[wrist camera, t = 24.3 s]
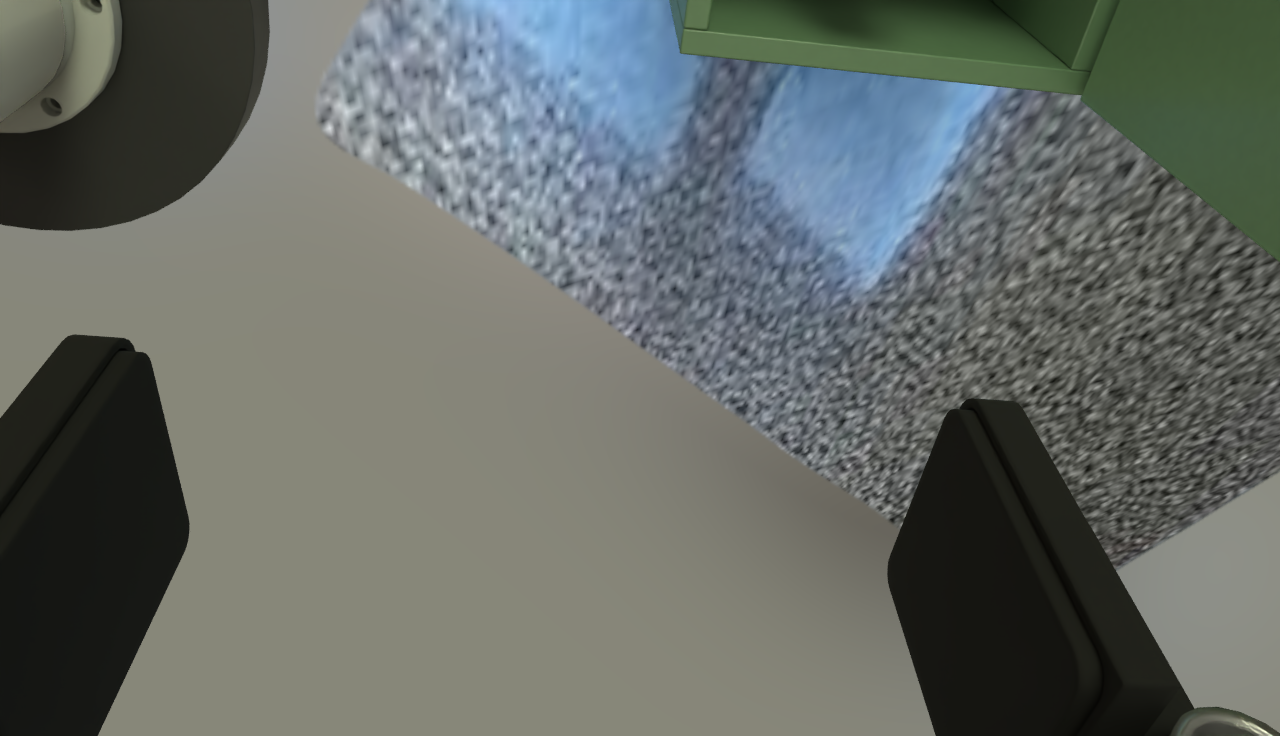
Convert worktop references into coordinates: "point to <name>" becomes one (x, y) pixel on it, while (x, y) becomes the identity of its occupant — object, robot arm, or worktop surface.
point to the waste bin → (908, 37)
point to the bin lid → (1200, 100)
